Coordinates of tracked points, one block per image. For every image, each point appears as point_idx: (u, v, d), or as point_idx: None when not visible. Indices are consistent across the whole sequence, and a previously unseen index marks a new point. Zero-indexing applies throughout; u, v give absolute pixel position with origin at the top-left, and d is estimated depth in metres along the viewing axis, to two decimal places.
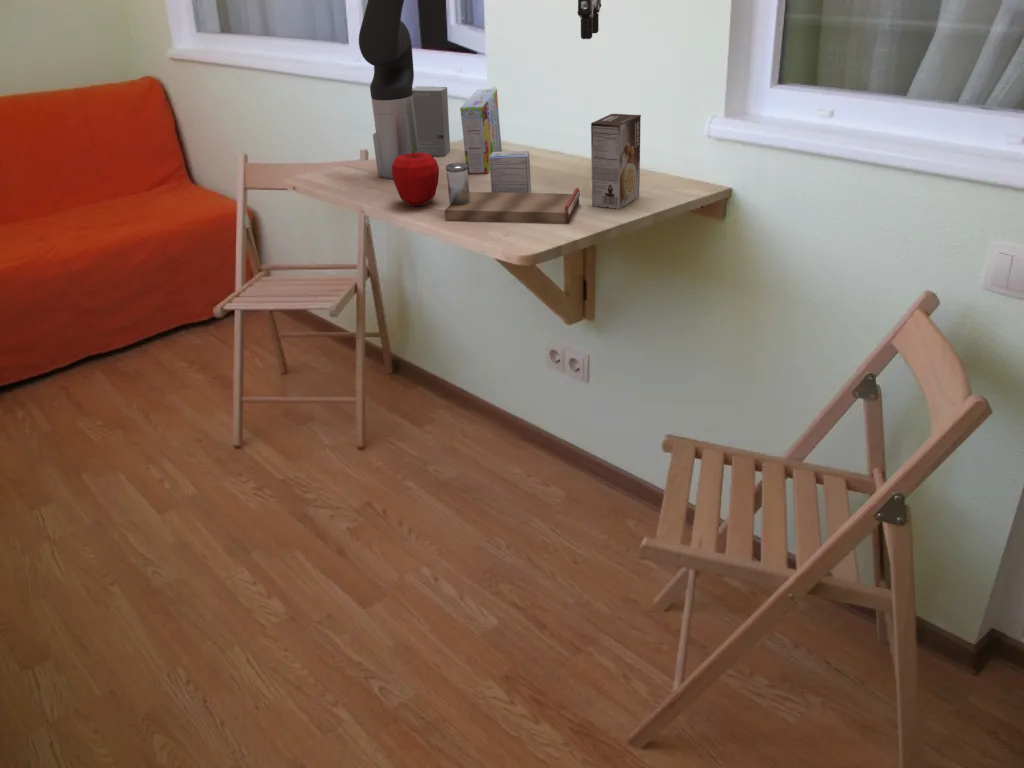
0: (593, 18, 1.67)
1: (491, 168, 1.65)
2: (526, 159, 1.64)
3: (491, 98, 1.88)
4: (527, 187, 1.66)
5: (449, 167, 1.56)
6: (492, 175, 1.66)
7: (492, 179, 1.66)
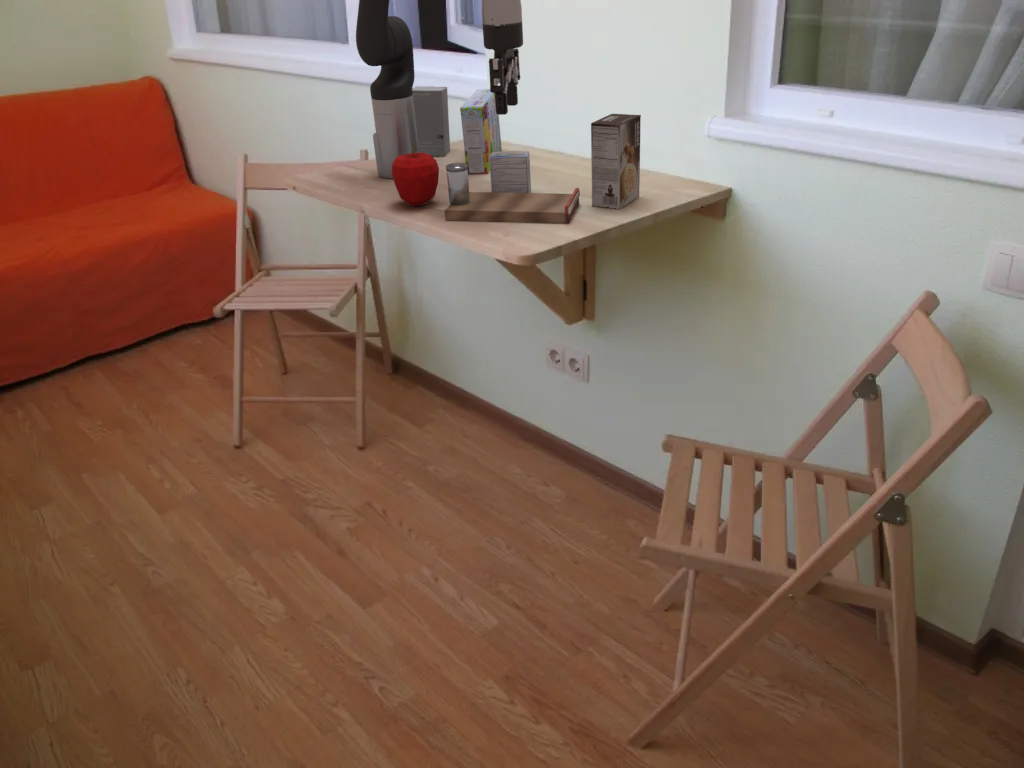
0: (511, 91, 1.63)
1: (491, 168, 1.65)
2: (526, 159, 1.64)
3: (491, 98, 1.88)
4: (527, 187, 1.66)
5: (449, 167, 1.56)
6: (492, 175, 1.66)
7: (492, 179, 1.66)
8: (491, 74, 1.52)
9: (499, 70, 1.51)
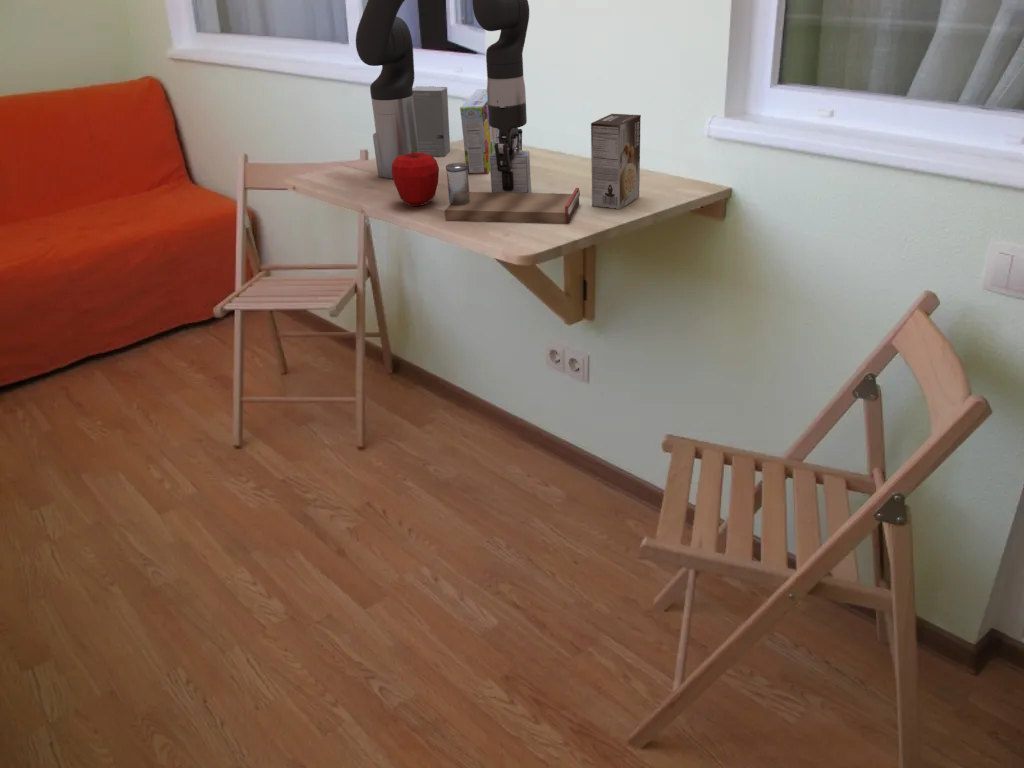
0: None
1: (491, 168, 1.65)
2: (526, 159, 1.63)
3: None
4: (527, 187, 1.66)
5: (449, 167, 1.56)
6: (492, 175, 1.66)
7: (492, 179, 1.66)
8: (497, 157, 1.60)
9: (505, 154, 1.59)
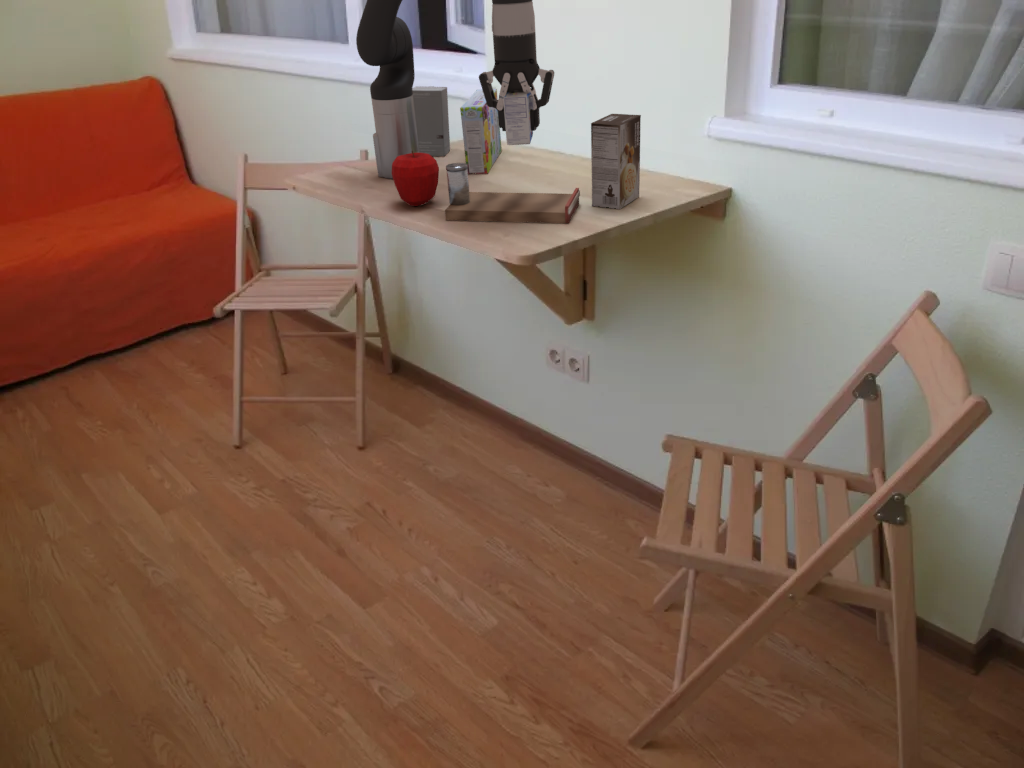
0: None
1: None
2: None
3: None
4: None
5: (449, 167, 1.56)
6: None
7: None
8: None
9: None
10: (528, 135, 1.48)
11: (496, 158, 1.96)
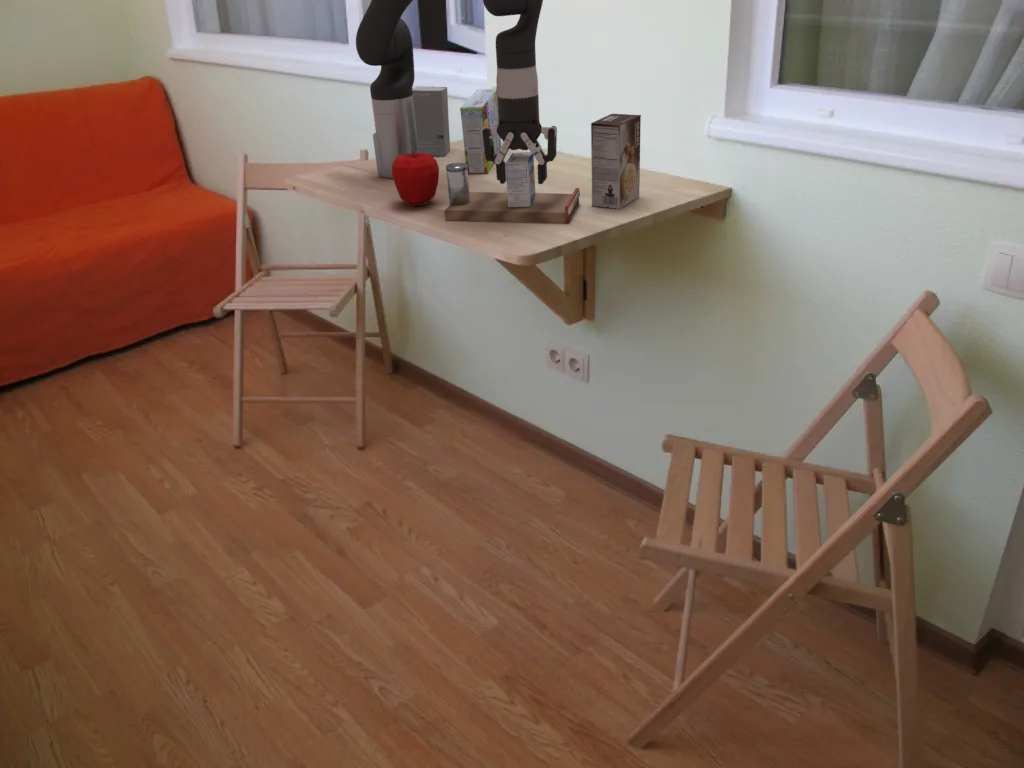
0: None
1: None
2: (505, 166, 1.52)
3: (491, 98, 1.88)
4: (507, 196, 1.54)
5: (449, 167, 1.56)
6: None
7: None
8: None
9: None
10: (528, 199, 1.54)
11: None
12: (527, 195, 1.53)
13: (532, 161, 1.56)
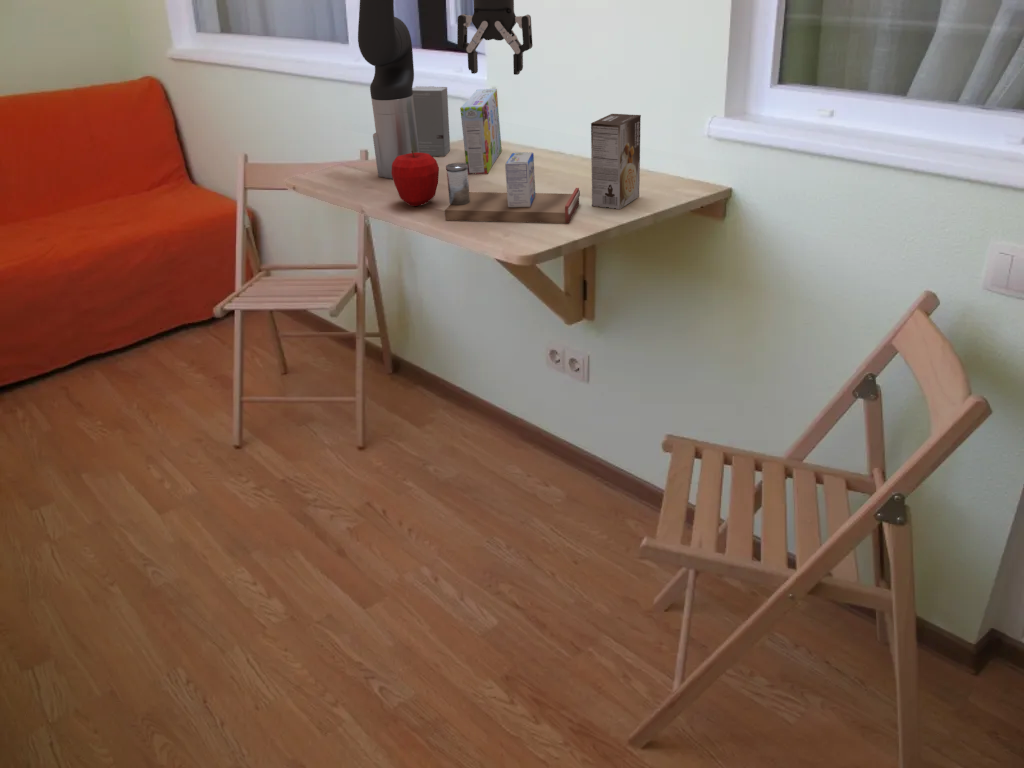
0: None
1: None
2: (505, 166, 1.52)
3: (491, 98, 1.88)
4: (507, 196, 1.54)
5: (449, 167, 1.56)
6: None
7: None
8: None
9: None
10: (528, 199, 1.54)
11: (496, 158, 1.96)
12: (527, 195, 1.53)
13: (532, 161, 1.56)
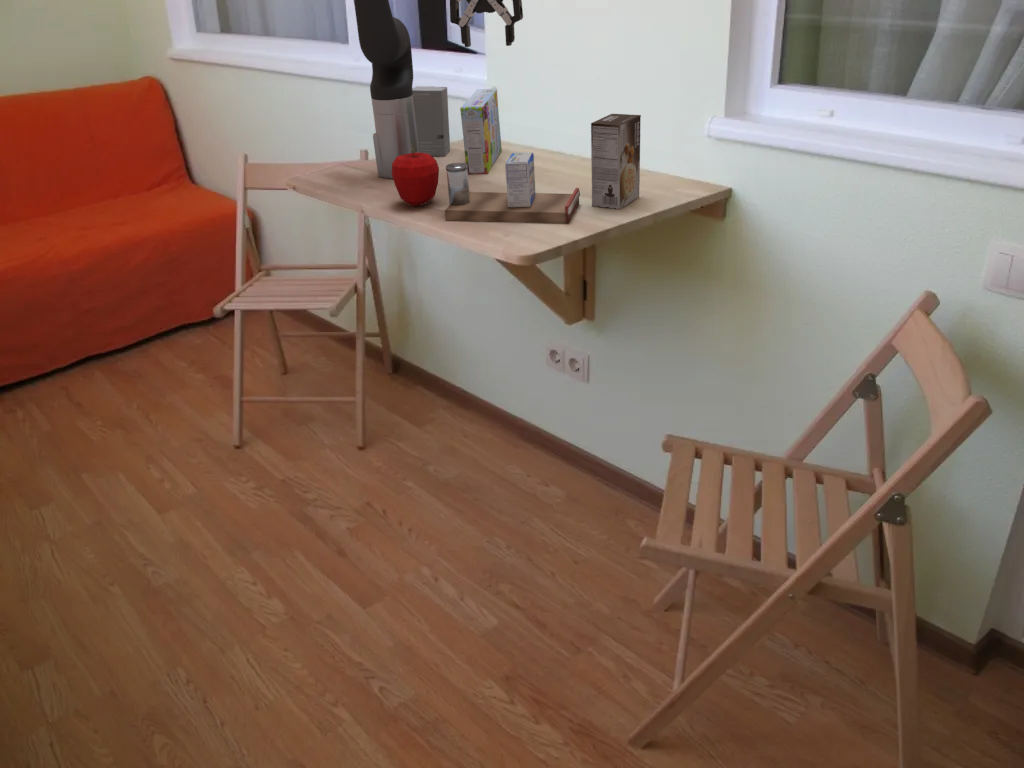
0: None
1: None
2: (505, 166, 1.52)
3: (491, 98, 1.88)
4: (507, 196, 1.54)
5: (449, 167, 1.56)
6: None
7: None
8: None
9: None
10: (528, 199, 1.54)
11: (496, 158, 1.96)
12: (527, 195, 1.53)
13: (532, 161, 1.56)
